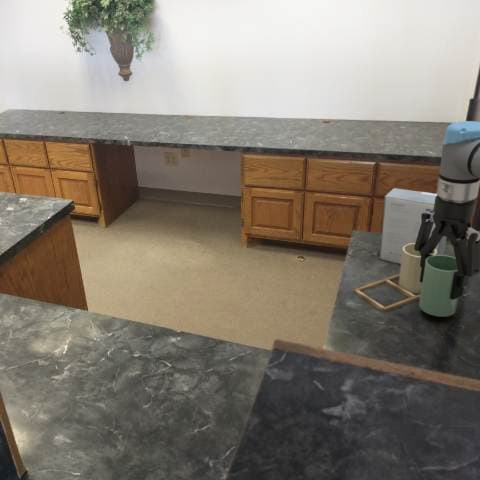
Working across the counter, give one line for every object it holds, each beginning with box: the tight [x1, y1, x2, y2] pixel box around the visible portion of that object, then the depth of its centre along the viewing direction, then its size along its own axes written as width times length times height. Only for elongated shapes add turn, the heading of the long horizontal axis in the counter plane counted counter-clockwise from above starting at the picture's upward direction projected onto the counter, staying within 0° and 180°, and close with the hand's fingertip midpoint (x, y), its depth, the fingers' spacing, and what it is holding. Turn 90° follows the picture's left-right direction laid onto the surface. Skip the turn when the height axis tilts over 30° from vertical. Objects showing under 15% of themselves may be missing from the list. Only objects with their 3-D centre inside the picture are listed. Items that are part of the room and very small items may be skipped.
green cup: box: [418, 254, 459, 318], centre depth 117 cm, size 8×8×12 cm
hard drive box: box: [379, 187, 448, 265], centre depth 142 cm, size 16×8×20 cm, turn 49°
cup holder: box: [353, 273, 420, 314], centre depth 131 cm, size 11×20×2 cm, turn 112°
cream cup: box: [398, 243, 437, 295], centre depth 130 cm, size 8×8×12 cm
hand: (440, 288), depth 117 cm, fingers closed on green cup, 8 cm apart
